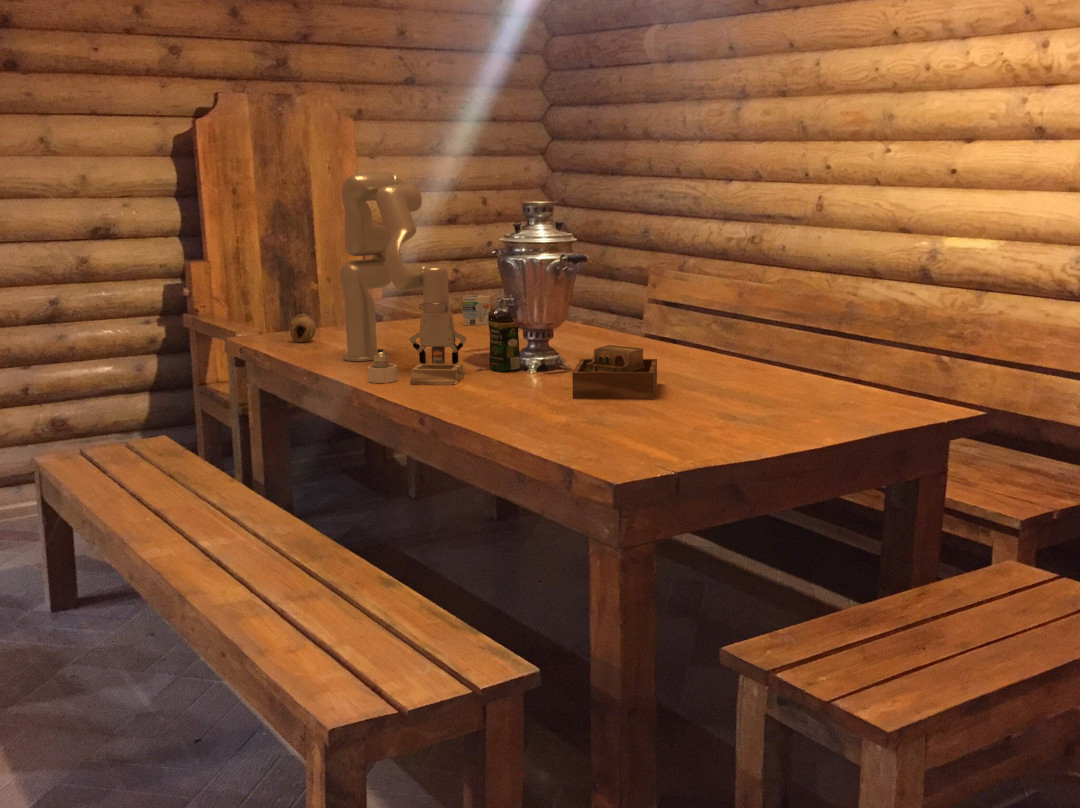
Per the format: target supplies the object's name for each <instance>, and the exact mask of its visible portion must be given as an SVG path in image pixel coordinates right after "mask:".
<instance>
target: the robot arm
mask: <svg viewBox="0 0 1080 808" xmlns="http://www.w3.org/2000/svg"><path fill="white" fill-rule="evenodd" d="M341 199H342V204H343V209H344V248H345V251H346V253H347V254H348V255H349V256H351V257H367V256H368V257H369V256H371V257H372V258H367V259H355V260H351V261H347V262H346V263H344V264H342V266H341V268H340V269H339V279H340V280H339V281H340V283H341V288H342V293H343V299H344V300H343V301H344V302H343V303H344V312H345V313H344V314H345V315H344V316H345V330H346V331H345V333H346V345H347V346H346V347H347V348H346V349H347V353H345V354H343V356H342V359H343V360H345V361H349V362H368V361H369V362H370V361H374V351H378V341H377V340H378V339H377V338H378V337H377V324H376V323H377V322H376V321H377V320H376V306H375V305H376V304H375V301H374V298H373V296H372V295H371V293H370V292H369V290H373V289H380V288H386V287H387V286H389V285H390V284H391V283H392V284H393V286H394V287H395V289H396V290H398V291H402V292H409V291H417V290H422V295H423V296H422V297H423V300H422V301H423V303H421V304H420V303H419V304H418V308H419V310H422V311H423V312H421V313H420V314H421V315H420V320H419V322H420V323H419V332H417V333H416V334H414V335H412V336H410V337H409V342H410V343H411V344H412V347H413V348H414V349H415V350H416V351H417V352H418V355H419V357H418V358H419V359H418V360H419V364H427V355H426V350H425V349H426V348H430V347H445V348H446V347H449V348H450V349H451V350H452V352H451V361H452V362H451V364H459V351H460V350H461V349H462V348H463V347H464V345H465V342H466V341H467V336H465V335H463V334H461V333H459V332H458V331H456V328H455V324H454V323H455V322H454V317H453V313H452V311H450V302H449V301H450V298H449V297H450V295H449V293H450V292H449V275H448V274H449V273H448V272H449V271H448V269H447V267H445V266H444V265H433V264H430V263H419V264H418V263H417V264H408V265H407V264H406V265H405V264H404V262H403V259H402V257H401V247H402V244H404V243H406V242H407V241H409V240H410V239H411V238H412V237H414V236H415V235H416V234H417V226H416V224H415V222H414V219H413V216H412V212H416V211H418V210H419V209H420V208H421V207H422V203H423V199H422V194H421V192H420V190H419V189H418V187H417V186H416V185H415V184H413V183H412V182H410V181H409V180H407V179H405V178H403V177H402V176H401V175H398V174H396V173H394V172H364V173H363V172H362V173H361V172H360V173H354V174H351V175H349V176H348V177H346V178H345V179H344V181H343V183H342V187H341ZM367 201H369V202H370V201H373V202H375V201H376V204H377V207H378V210H379V213H380V217H382V221H383V224H384V225H383V224H373V214H372V213H373V212H372V209H371V207H370V205H369V203H368V202H367ZM456 338H457V339H458V340H460V341H459V343H458V345H457V344H456ZM417 339H419V343H418V342H417Z"/></svg>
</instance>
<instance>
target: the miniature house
mask: <svg viewBox="0 0 1080 808" xmlns="http://www.w3.org/2000/svg"><path fill="white" fill-rule="evenodd" d="M592 355H593V356H592V357H593V358H592V359H593V361H592V362H590V363H587V364H586V368H585V370H584V371H586V372H643V368H646V367H645V366H644V365H643V359H644V348H643V347H633V346H624V345H613V344H607V345H603V346H599V347H595V348H594V349H593V354H592Z"/></svg>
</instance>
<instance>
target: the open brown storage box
mask: <svg viewBox="0 0 1080 808" xmlns="http://www.w3.org/2000/svg"><path fill="white" fill-rule="evenodd" d="M592 361H593V358H580V360H579V361H578V362H577V364H576V366H575V368H574V369H573V370H572V399H587V400H588V399H590V400H591V399H599V400H600V399H601V400H602V399H606V400H609V399H611V400H613V399H614V400H616V399H617V400H620V399H621V400H654V398H655V394H656V389H657V385H658V359H657V358H643V365H644V366H645V367H646V368H643V372H586V371H584V370H585V368H586V364H587V363H590V362H592Z"/></svg>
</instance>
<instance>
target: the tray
mask: <svg viewBox="0 0 1080 808" xmlns="http://www.w3.org/2000/svg"><path fill="white" fill-rule="evenodd" d="M463 371H464V370H463V363H457V364H452V363H446V364H432V363H426V364H421V363H418V364H417V365H415V366H414V367H413V368H412V369H410V380H409V382H410V383H409V385H410V384H428V385H427V386H429V385H430V386H440V385H441V386H445V385H446V384H455V383H456V382H457V381H458V382H460V380H462V379H463V378H464V372H463ZM462 377H463V378H462ZM461 378H462V379H461ZM458 382H457V383H458ZM457 383H456V384H457ZM433 384H434V385H433ZM456 384H455V385H456ZM446 386H447V385H446Z"/></svg>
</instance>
